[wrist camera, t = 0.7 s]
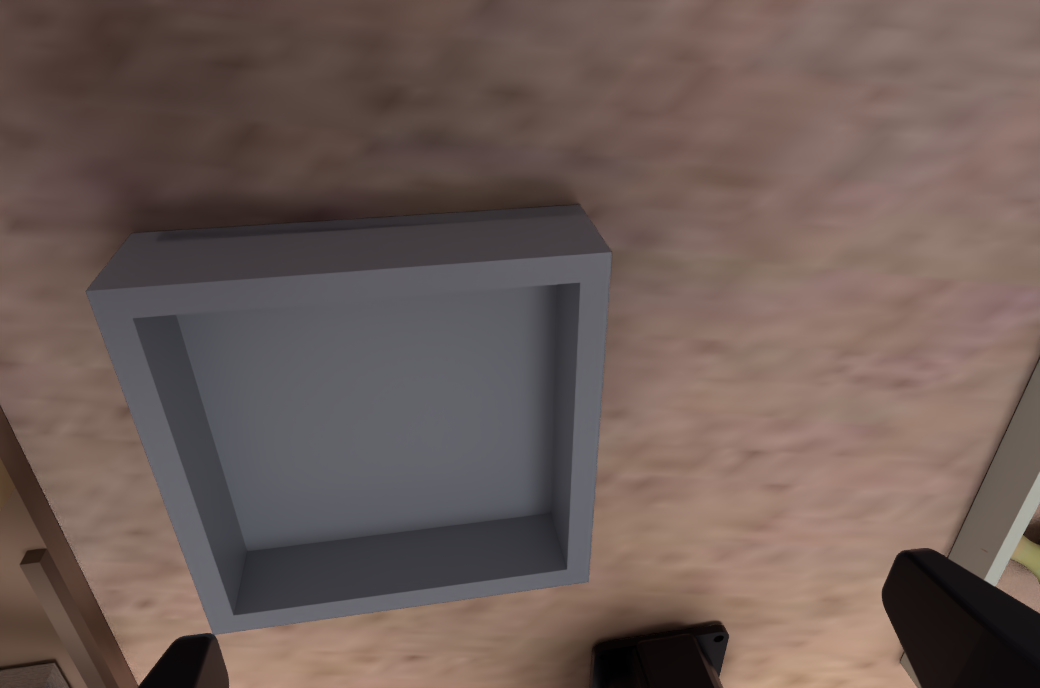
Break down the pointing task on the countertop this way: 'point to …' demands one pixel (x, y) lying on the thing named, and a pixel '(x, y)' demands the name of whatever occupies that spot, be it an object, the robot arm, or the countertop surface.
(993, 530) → the fruit rim
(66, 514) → the countertop surface
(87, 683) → the track
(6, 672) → the grey small block
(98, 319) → the tray
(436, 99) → the countertop surface
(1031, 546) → the banana
